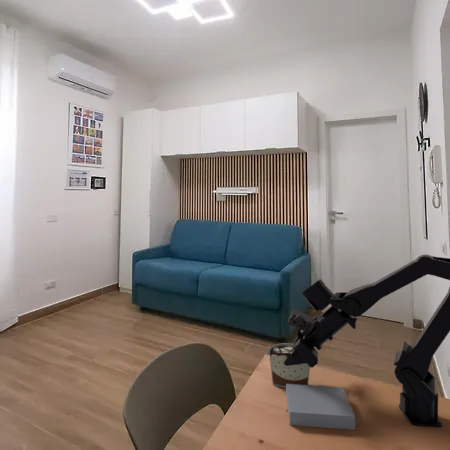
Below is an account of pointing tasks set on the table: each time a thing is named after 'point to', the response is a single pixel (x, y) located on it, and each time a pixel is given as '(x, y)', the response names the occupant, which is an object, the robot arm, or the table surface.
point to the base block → (319, 407)
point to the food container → (286, 367)
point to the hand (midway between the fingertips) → (286, 358)
